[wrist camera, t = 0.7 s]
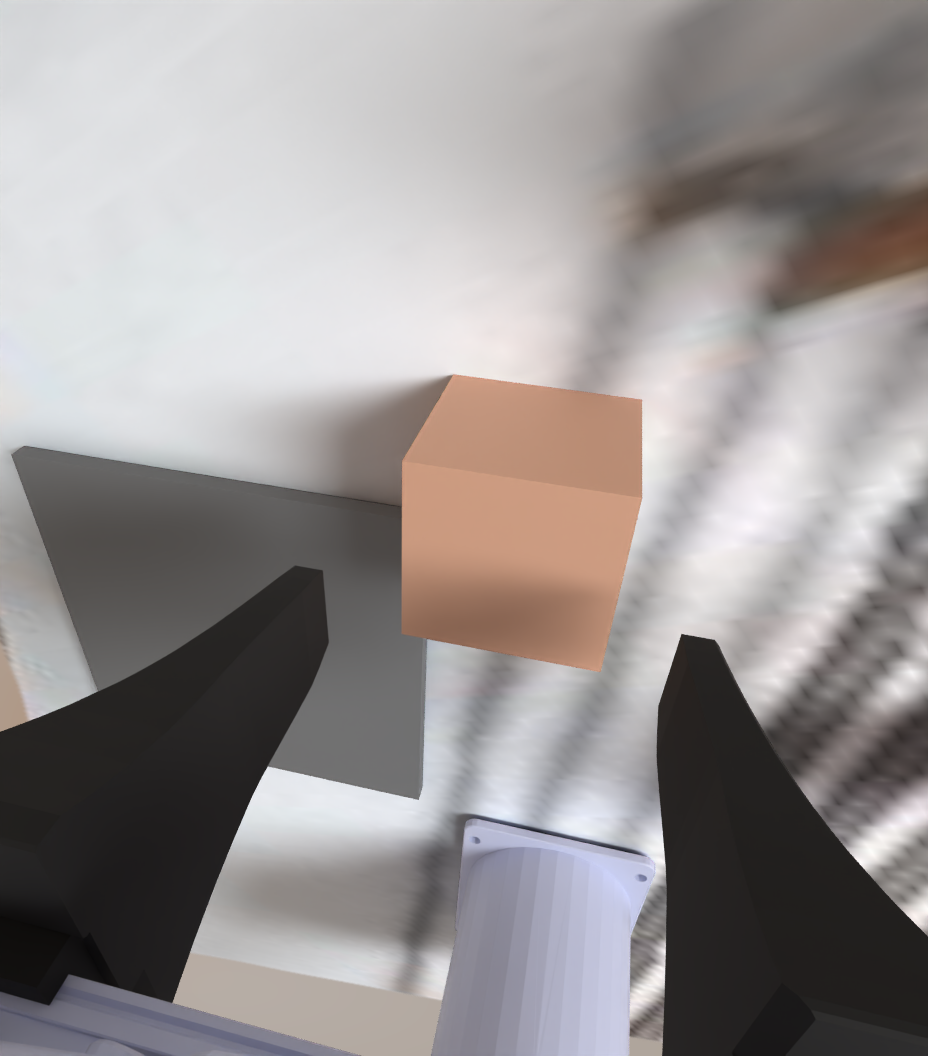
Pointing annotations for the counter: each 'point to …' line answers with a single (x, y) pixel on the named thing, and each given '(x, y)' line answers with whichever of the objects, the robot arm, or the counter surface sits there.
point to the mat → (240, 595)
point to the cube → (520, 519)
